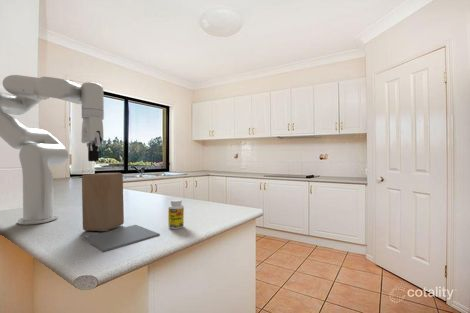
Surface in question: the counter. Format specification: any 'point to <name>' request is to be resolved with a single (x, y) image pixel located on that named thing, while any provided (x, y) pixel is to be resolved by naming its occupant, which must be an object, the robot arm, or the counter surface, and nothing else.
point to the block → (102, 201)
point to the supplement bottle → (176, 214)
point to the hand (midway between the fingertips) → (93, 161)
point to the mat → (119, 237)
